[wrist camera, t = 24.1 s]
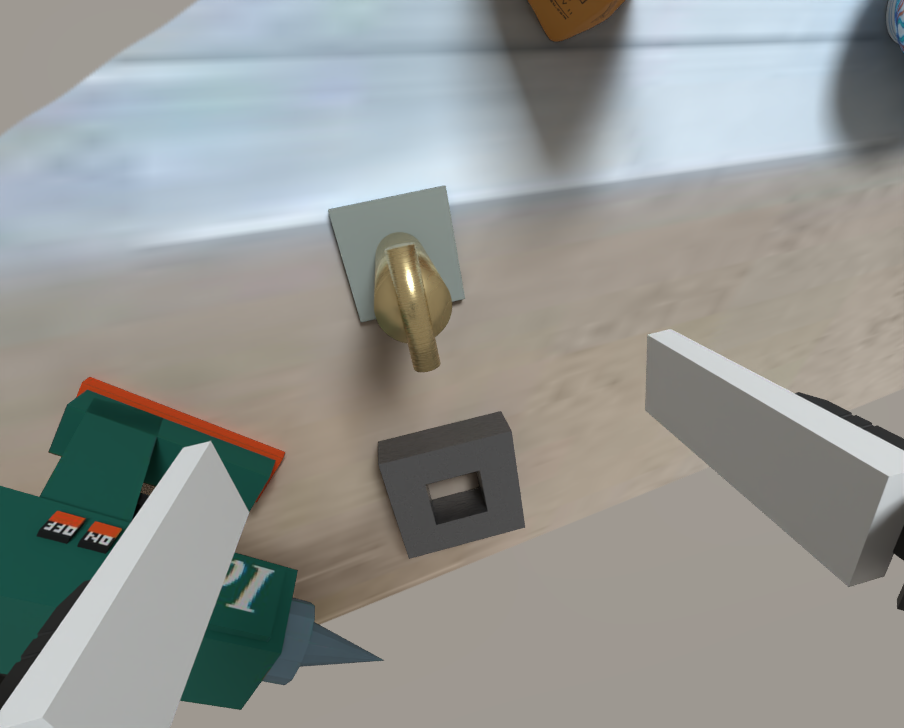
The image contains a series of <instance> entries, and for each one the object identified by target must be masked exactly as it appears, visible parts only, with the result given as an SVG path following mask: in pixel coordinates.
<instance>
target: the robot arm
mask: <svg viewBox="0 0 904 728" xmlns="http://www.w3.org/2000/svg"><path fill="white" fill-rule="evenodd" d="M645 410H646V411H647V412H648V413H649V414H650V415H651V416H652V417H654V418H655V419H656V420H657V421H658V422H659V423H660V424H662V425H663V426H664V427H665V428H666V429H667V430H669V431H670V432H671V433H672V434H673V435H674V436H675V437H677V438H678V439H679V440H680V441H681V442H682V443H683V444H685V445H686V446H687V447H688V448H689V449H690V450H692V451H693V452H694V453H695V454H696V455H697V456H698V457H700V458H701V459H702V460H703V461H704V462H705V463H706V464H708V465H709V466H710V467H711V468H712V469H713V470H715V471H716V472H717V473H718V474H719V475H720V476H721V477H723V478H724V479H725V480H726V481H727V482H728V483H729V484H731V485H732V486H733V487H734V488H735V489H736V490H738V491H739V492H740V493H741V494H742V495H743V496H744V497H746V498H747V499H748V500H749V501H750V502H751V503H753V504H754V505H755V506H756V507H757V508H758V509H759V510H761V511H762V512H763V513H764V514H765V515H766V516H768V517H769V518H770V519H771V520H772V521H773V522H774V523H776V524H777V525H778V526H779V527H780V528H782V530H784V531H785V532H786V533H787V534H788V535H790V536H791V537H792V538H793V539H794V540H795V541H796V542H797V543H799V544H800V545H801V546H802V547H803V548H804V549H805V550H807V551H808V552H809V553H810V554H811V555H812V556H813V557H815V558H816V559H817V560H818V561H819V562H820V563H822V564H823V565H824V566H825V567H826V568H827V569H828V570H830V571H831V572H832V573H833V574H834V575H835V576H837V577H838V578H839V579H840V580H841V581H842V582H843V583H845V584H846V585H847V586H848V587H850V586H854V585H857V584H860V583H864V582H867V581H870V580H874V579H877V578H880V577H883V576H885V573H886V571H887V569H888V566H889V564H890V562H891V559H892V557H893V554H896V555H897V556H898V557H899V558H901V559H902V560H904V439H903V438H901V437H899V436H897V435H895V434H893V433H891V432H889V431H887V430H885V429H883V428H881V427H879V426H873V425H872V423H871V422H869V421H867V420H865V419H863V418H861V417H859V416H857V415H855V416H853V415H852V413H851V412H849V411H847V410H845V409H843V408H841V407H839V406H837V405H835V404H833V403H831V402H829V401H827V400H824V399H820V398H817V397H813V396H810V395H806V394H803V393H800V392H798V393H792V392H790V391H789V390H787V389H785V388H783V387H781V386H779V385H777V384H775V383H773V382H771V381H769V380H767V379H766V378H764V377H762V376H760V375H758V374H756V373H754V372H752V371H750V370H748V369H746V368H744V367H743V366H741V365H739V364H737V363H735V362H733V361H731V360H729V359H727V358H725V357H723V356H721V355H720V354H718V353H716V352H714V351H712V350H710V349H708V348H706V347H704V346H702V345H700V344H698V343H697V342H695V341H693V340H691V339H689V338H687V337H685V336H683V335H681V334H679V333H677V332H675V331H673V330H672V329H669V330H665V331H661V332H657V333H653V334H649V335H647V366H646V400H645ZM248 514H249V511H248V509H247V507H246V505H245V504H244V502H243V500H242V498H241V496H240V494H239V492H238V491H237V489H236V487H235V485H234V483H233V481H232V479H231V477H230V476H229V474H228V472H227V470H226V468H225V466H224V464H223V463H222V461H221V459H220V457H219V455H218V453H217V451H216V449H215V448H214V446H213V444H212V442H211V441H209V442H205V443H201V444H196V445H192V446H188V447H184V448H183V449H182V450H181V452H180V453H179V454H178V456H177V457H176V459H175V460H174V462H173V463H172V464H171V466H170V467H169V469H168V470H167V472H166V473H165V475H164V476H163V477H162V479H161V480H160V482H159V483H158V485H157V486H156V487H155V489H154V490H153V492H152V493H151V495H150V496H149V498H148V499H147V500H146V502H145V503H144V505H143V506H142V508H141V509H140V510H139V512H138V513H137V515H136V516H135V518H134V519H133V520H132V522H131V523H130V525H129V526H128V528H127V529H126V531H125V532H124V533H123V535H122V536H121V538H120V539H119V541H118V542H117V543H116V545H115V546H114V548H113V549H112V551H111V552H110V553H109V555H108V556H107V558H106V559H105V561H104V562H103V564H102V565H101V566H100V568H99V569H98V571H97V572H96V574H95V575H94V576H93V578H92V579H91V580H87V581H84V582H83V583H81V584H80V585H79V586H78V587H77V588H76V589H75V590H74V591H73V592H72V593H71V594H70V595H69V596H68V597H67V598H66V599H65V600H64V601H63V602H61V603H60V604H59V605H58V606H57V607H56V609H55V610H54V612H53V613H52V614H51V616H50V617H49V618H48V620H47V621H46V622H45V624H44V625H43V627H42V628H41V629H40V631H39V632H38V633H37V634H38V637H37V638H36V639H33V640H32V642H31V643H30V644H29V646H28V647H27V648H26V650H25V651H24V652H23V654H22V655H21V660H20V662H17V663H15V665H14V666H13V667H12V669H11V670H10V672H9V673H8V674H1V673H0V728H170V726H171V723H172V721H173V718H174V715H175V712H176V710H177V707H178V704H179V702H180V699H181V696H182V693H183V691H184V688H185V685H186V683H187V680H188V677H189V674H190V672H191V669H192V666H193V664H194V661H195V658H196V655H197V653H198V650H199V647H200V645H201V642H202V639H203V636H204V634H205V631H206V628H207V626H208V623H209V620H210V617H211V615H212V612H213V609H214V607H215V604H216V601H217V598H218V596H219V593H220V590H221V588H222V585H223V582H224V579H225V577H226V574H227V571H228V569H229V566H230V563H231V560H232V558H233V555H234V552H235V550H236V547H237V544H238V541H239V539H240V536H241V533H242V531H243V528H244V525H245V522H246V520H247V517H248ZM897 609H900V610H903V611H904V585H903V587H902V589H901V591H900V594H899V596H898V598H897Z"/></svg>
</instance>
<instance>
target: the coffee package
mask: <svg viewBox="0 0 904 728" xmlns="http://www.w3.org/2000/svg"><path fill="white" fill-rule="evenodd" d="M624 1H625V0H528V2H529V4H530V5H531V7H532V9H533V10H534V12H535V14H536V16H537V18H538V20H539V22H540V24H541V26H542V28H543V30H544V31H545V33H546V35H547V36H548V38H549V39H550V40H552V41H555V42H557V41H562V40H565V39H568V38H570V37H572V36H574V35H577V34H579V33H581V32H584V31H586V30H588V29H590V28H592V27H594V26H596V25H598V24H599V23H601V22H603V21H605V20H606V19H607V18H609V17H610V16H611V15H612V14H613V13H614V12H615V11H616V10H617V8H618V7H619V6H620V5H621V4H622V3H623V2H624Z"/></svg>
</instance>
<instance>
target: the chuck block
mask: <svg viewBox="0 0 904 728" xmlns="http://www.w3.org/2000/svg"><path fill="white" fill-rule="evenodd" d="M378 465H379V468H380V471H381V474H382V477H383V480H384V483H385V487H386V490H387V493H388V496H389V499H390V502H391V505H392V508H393V511H394V514H395V517H396V520H397V523H398V526H399V529H400V532H401V535H402V538H403V541H404V545H405V548H406V551H407V554H408V557H409V559H410V558H414V557H417V556H421V555H425V554H428V553H432V552H436V551H440V550H443V549H447V548H451V547H454V546H458V545H462V544H465V543H469V542H473V541H476V540H480V539H484V538H488V537H491V536H495V535H499V534H502V533H506V532H510V531H513V530H517V529H521V528H525V523H524V516H523V509H522V502H521V495H520V487H519V480H518V473H517V466H516V459H515V452H514V445H513V438H512V431H511V429H510V427H509V425H508V423H507V422H506V420H505V418H504V416H503V414H502V412H501V411H500V412H496V413H492V414H488V415H484V416H480V417H476V418H472V419H468V420H464V421H460V422H456V423H452V424H448V425H444V426H440V427H436V428H431V429H427V430H423V431H419V432H415V433H411V434H407V435H403V436H399V437H395V438H391V439H387V440H383V441H379V442H378ZM476 471H477V476H478V481H479V486H480V488H476V489H472V490H468V491H464V492H460V493H457V494H453V495H449V496H445V497H441V498H437V499H434V500H432V499H431V495H430V491H429V488H428V484H430V483H433V482H437V481H441V480H445V479H449V478H453V477H457V476H461V475H464V474H468V473H472V472H476Z"/></svg>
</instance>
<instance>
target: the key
mask: <svg viewBox="0 0 904 728" xmlns="http://www.w3.org/2000/svg"><path fill="white" fill-rule="evenodd" d="M374 312H375V317H376V320H377V322H378V324H379V326H380V327H381V328H382V330H383V331H384V332H385V333H386V334H387V335H389V336H390V337H392V338H393V339H395V340H397V341H400V342H404V343H408V347H409V351H410V355H411V359H412V363H413V367H414V370H415V371H417V372H428V371H432V370H434V369H436V368H438V367H439V366H440V359H439V354H438V349H437V345H436V340H435V337H436V336H437V335H438V334H439V333H440V332H441V331H442V330H443V329H444V328H445V327H446V325H447V323H448V321H449V319H450V316H451V312H452V299H451V295H450V292H449V290H448V288H447V286H446V284H445V283H444V281H443V279H442V278H441V276H440V274H439V273H438V271H437V269H436V268H435V266H434V264H433V263H432V261H431V259H430V258H429V256H428V254H427V253H426V251H425V249H424V248H423V246H422V244H421V243H420V242H419V240H418V239H417V238H415V237H414V236H412V235H410V234H408V233H404V232H395V233H392V234H389V235H387V236H386V237H385V238H383V239H382V240H381V242H380V243H379V245H378V247H377V249H376V254H375V286H374Z"/></svg>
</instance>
